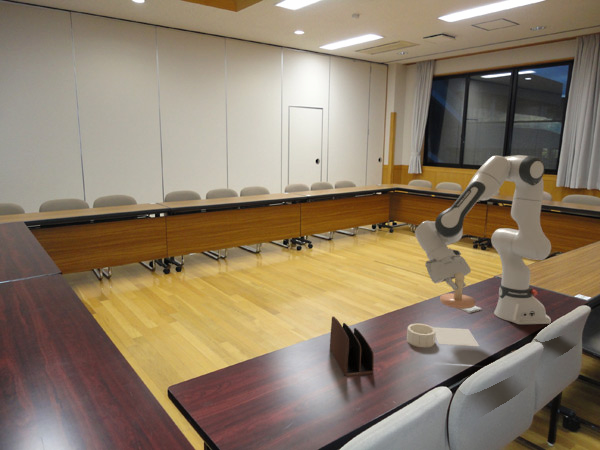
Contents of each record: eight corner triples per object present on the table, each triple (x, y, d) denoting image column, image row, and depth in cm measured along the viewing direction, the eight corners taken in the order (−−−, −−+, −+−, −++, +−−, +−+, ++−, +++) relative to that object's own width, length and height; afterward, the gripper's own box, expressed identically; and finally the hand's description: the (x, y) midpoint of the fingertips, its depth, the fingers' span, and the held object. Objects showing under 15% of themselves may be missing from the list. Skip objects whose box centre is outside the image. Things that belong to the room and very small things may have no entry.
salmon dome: (470, 296, 170) (472, 268, 168) (479, 309, 157) (482, 278, 155) (437, 295, 172) (439, 266, 169) (443, 307, 159) (446, 277, 156)
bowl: (431, 337, 167) (432, 324, 166) (436, 349, 157) (437, 335, 156) (405, 335, 169) (406, 322, 168) (408, 347, 159) (409, 334, 158)
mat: (468, 330, 174) (468, 329, 174) (479, 347, 159) (479, 346, 159) (431, 328, 175) (431, 327, 175) (438, 345, 161) (438, 343, 161)
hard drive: (448, 301, 202) (469, 310, 192) (460, 299, 206) (481, 307, 195) (448, 305, 203) (469, 314, 192) (460, 302, 206) (481, 311, 196)
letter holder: (345, 377, 139) (346, 337, 136) (329, 348, 158) (330, 313, 155) (373, 374, 141) (375, 335, 138) (354, 346, 160) (356, 311, 157)
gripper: (428, 257, 161) (448, 289, 155) (462, 250, 172) (481, 279, 166) (418, 265, 165) (437, 296, 159) (452, 258, 177) (470, 287, 170)
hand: (460, 288), depth 163 cm, fingers closed on salmon dome, 3 cm apart
